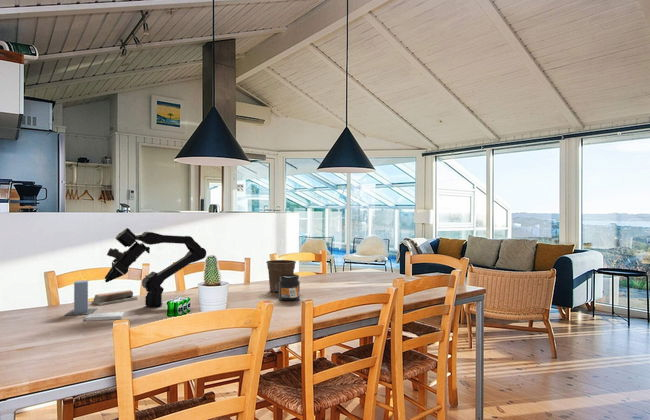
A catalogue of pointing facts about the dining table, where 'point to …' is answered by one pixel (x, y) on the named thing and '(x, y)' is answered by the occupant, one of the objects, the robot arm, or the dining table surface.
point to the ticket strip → (104, 316)
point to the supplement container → (289, 287)
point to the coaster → (80, 313)
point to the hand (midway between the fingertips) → (105, 280)
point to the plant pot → (278, 271)
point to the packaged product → (113, 297)
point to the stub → (81, 296)
